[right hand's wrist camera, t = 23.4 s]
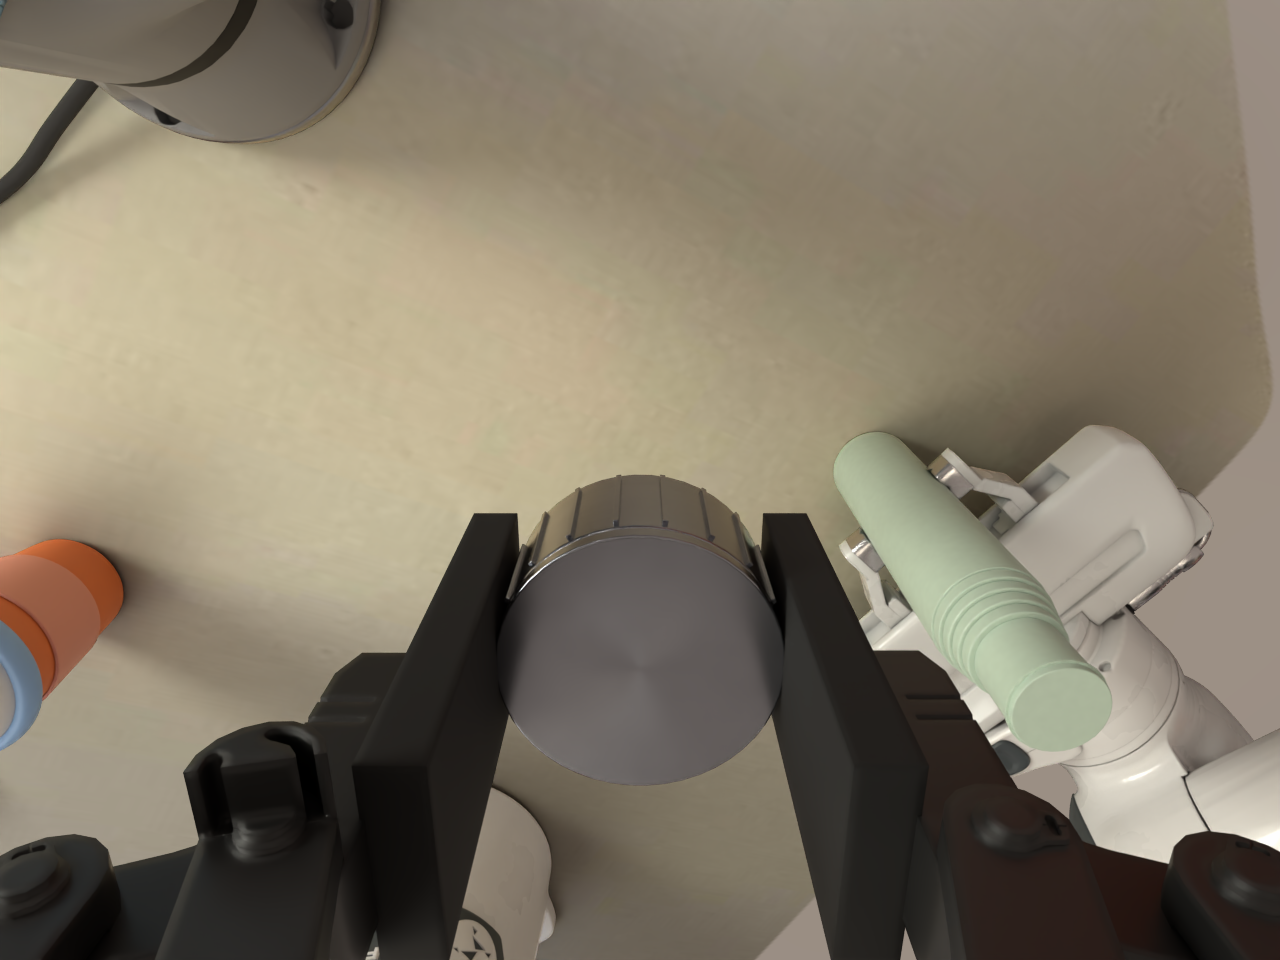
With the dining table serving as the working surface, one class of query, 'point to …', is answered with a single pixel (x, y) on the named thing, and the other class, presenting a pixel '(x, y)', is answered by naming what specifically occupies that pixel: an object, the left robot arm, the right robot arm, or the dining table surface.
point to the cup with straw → (48, 623)
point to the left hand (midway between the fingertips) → (894, 502)
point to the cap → (640, 633)
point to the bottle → (973, 596)
